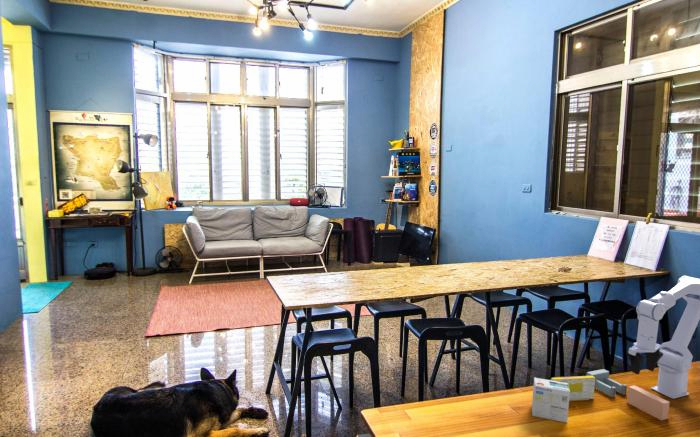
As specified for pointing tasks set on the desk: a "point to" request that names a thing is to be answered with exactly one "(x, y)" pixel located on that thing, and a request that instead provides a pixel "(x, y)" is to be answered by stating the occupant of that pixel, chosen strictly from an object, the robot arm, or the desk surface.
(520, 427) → the desk surface
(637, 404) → the salmon pink block
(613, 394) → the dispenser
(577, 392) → the candy box
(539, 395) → the light bulb box
